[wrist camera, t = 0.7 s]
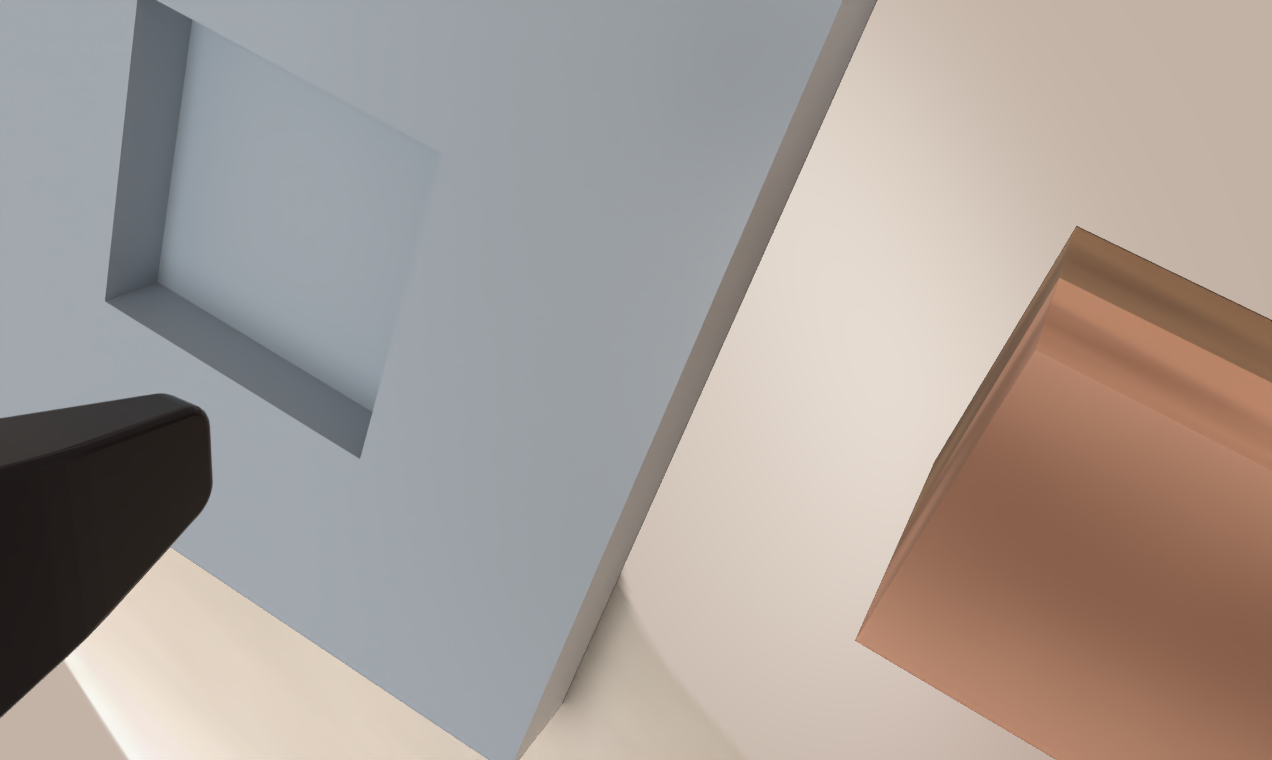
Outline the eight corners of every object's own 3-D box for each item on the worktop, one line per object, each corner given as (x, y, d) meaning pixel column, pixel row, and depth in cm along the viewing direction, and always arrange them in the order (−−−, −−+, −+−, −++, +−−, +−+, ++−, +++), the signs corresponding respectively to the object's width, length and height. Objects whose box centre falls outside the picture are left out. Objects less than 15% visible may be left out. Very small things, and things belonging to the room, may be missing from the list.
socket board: (561, 705, 27) (508, 773, 25) (9, 348, 31) (-78, 381, 29) (893, -38, 18) (854, -29, 16) (52, -414, 22) (-69, -447, 20)
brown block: (1194, 602, 20) (1196, 843, 15) (934, 461, 21) (855, 640, 16) (1382, 372, 17) (1462, 568, 12) (1076, 225, 18) (1036, 350, 13)
